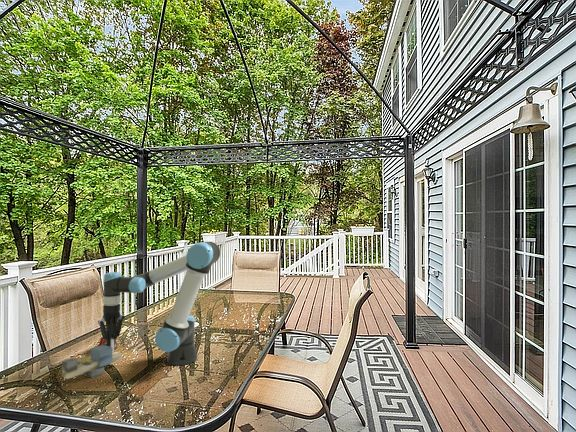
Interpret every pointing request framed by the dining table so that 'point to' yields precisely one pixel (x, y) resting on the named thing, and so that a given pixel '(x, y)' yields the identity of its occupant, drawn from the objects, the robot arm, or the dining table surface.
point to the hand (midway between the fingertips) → (110, 352)
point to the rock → (84, 360)
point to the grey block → (102, 355)
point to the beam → (85, 367)
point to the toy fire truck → (104, 342)
